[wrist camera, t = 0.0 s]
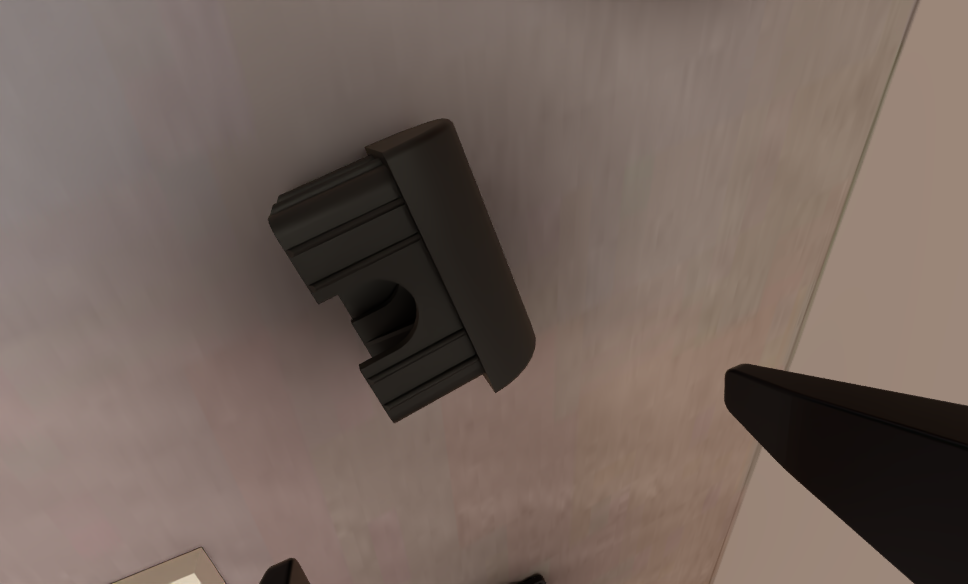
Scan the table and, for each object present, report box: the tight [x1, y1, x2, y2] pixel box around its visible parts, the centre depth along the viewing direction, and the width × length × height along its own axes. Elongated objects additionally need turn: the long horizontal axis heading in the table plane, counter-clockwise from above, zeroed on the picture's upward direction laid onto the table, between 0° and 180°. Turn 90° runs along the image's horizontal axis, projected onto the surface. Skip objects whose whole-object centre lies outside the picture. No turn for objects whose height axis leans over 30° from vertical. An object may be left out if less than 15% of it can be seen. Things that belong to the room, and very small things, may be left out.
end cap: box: [268, 119, 536, 423], centre depth 18 cm, size 10×7×7 cm
